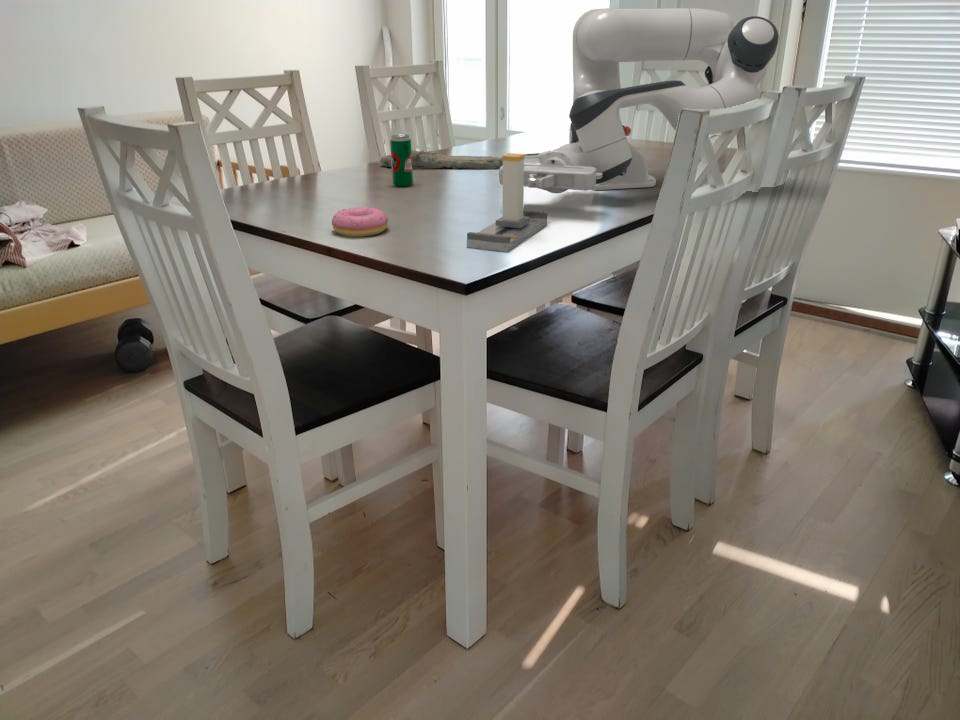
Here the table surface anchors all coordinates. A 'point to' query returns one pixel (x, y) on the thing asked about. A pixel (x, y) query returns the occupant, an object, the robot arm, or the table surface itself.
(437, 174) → the table surface
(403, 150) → the soda can
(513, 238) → the fader rail
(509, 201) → the fader tab
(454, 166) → the elongated rock
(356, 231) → the doughnut
